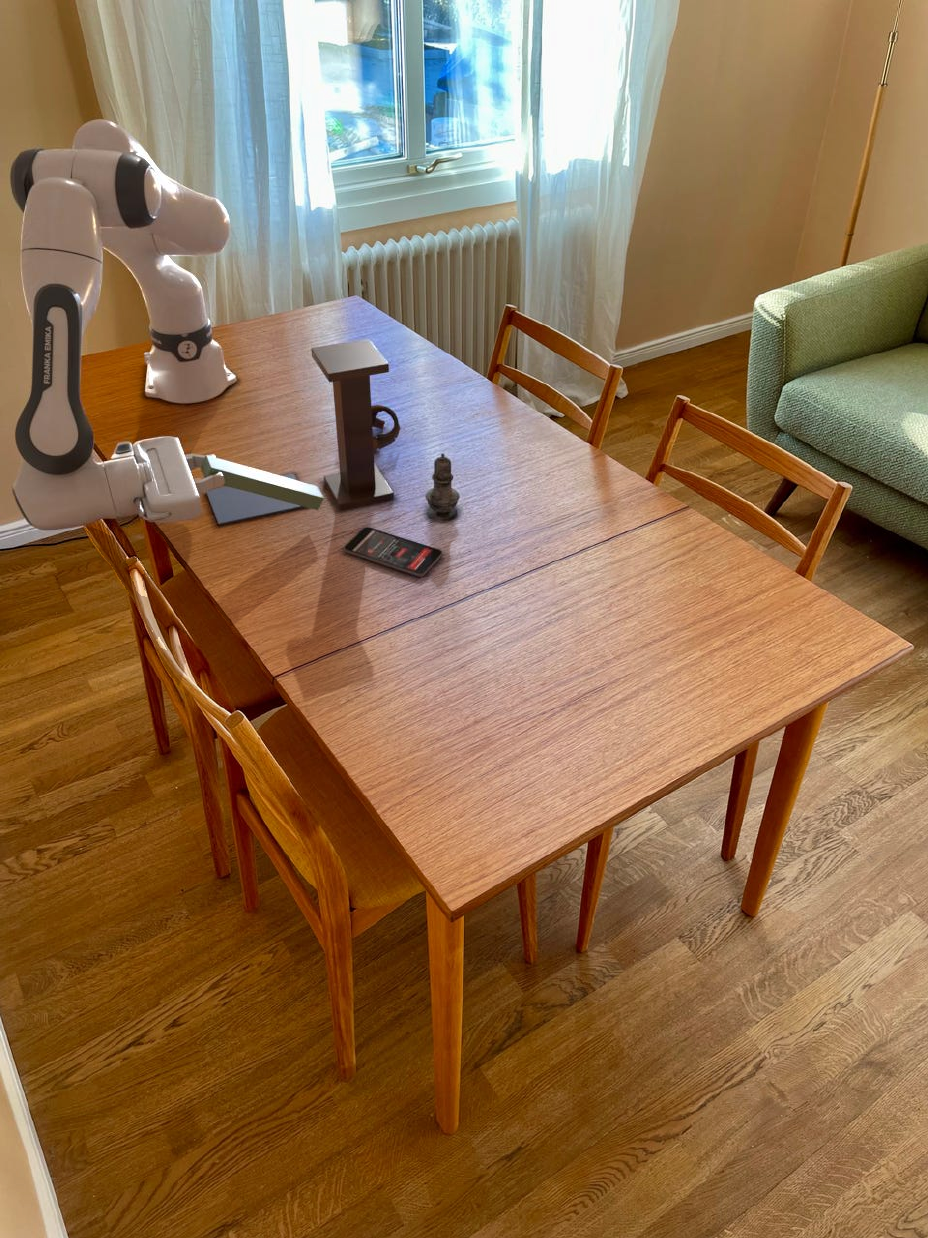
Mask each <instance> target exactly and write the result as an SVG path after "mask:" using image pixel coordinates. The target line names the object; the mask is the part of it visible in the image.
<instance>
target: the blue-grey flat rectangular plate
mask: <svg viewBox="0 0 928 1238" xmlns="http://www.w3.org/2000/svg"><path fill="white" fill-rule="evenodd" d="M280 476H283V477H286V478H290V479H293V480H297V478H296V476H295V474H294V472H293V473H286V474H282V475H280ZM205 494H206V496H207V499H208V502H209V504H210V507H211V509H212V512H213V515H214V517H215V520H216V522H217V524H218V525H217V526H223V525H228V524H233V523H238V522H242V521H243V522H244V521H247V520H251V519H256V518H261V517H266V516H270V515H275V514H281V513H284V512H288V511H294V510H298V509H304V508H305V507H303V506H300V505H296V504H292V503H288V502H284V501H281V500H277V499H273V498H269V497H266V496H262V495H258V494H254V493H250V492H247V491H243V490H239V489H235V488H232V487H228V486H223V487H218V488H212V489H211V490H209V491H208V492H206V493H205Z"/></svg>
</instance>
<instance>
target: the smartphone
mask: <svg viewBox="0 0 928 1238" xmlns="http://www.w3.org/2000/svg"><path fill="white" fill-rule="evenodd" d="M343 550H344V552H345V553H347V554H350V555H353V556H355V557H359V558H362V559H365V560H368V561H371V562H374V563H377V564H379V565H384V566H386V567H389V568H392V569H395V570H398V571H400V572H401V571H402V572H405V573H407V574H410V575H413V576H416V577H419V578H420V577H424V576H425V575H426V574H427V573H428V572H429V571H430V570H431V569H432V568H433V566H434V565H435V564H436V563H437V562H438V561H439V559H441V557H442V556H443V551H442V550H441V549H439V548H435V547H432V546H430V545H426V544H423V543H420V542H417V541H414V540H411V539H408V538H404V537H402V536H398V535H395V534H392V533H389V532H386V531H383V530H379V529H377V528H373V527H370V526H365V527H363V528H362V529H361V530H359V532H358V533H357V534H356V535H354V537H353V538H352V539H351V540H350V541H349V542H348V543H347V544H345V546H344V548H343Z"/></svg>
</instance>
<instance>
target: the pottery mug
mask: <svg viewBox="0 0 928 1238" xmlns="http://www.w3.org/2000/svg"><path fill="white" fill-rule="evenodd" d="M371 408H372V427H373V428H376V429H380V430H383V429H384V427H385V424H386V421H385V420H383V419H381V418H379V417H377V416H378V415H379V413H382V412H384V413H386V414H388V415H389V416H390V417H391V418H392V420H393V428H392V429H391V430H389V431H387V432H386V433H376V436H373V446H374V453H376V452H377V450H382V449H383V448H386V447H388V446H389V445H391V444H393V443H394V442H395V441H396V439H397V438H398V437H399V434H400V431H401V429H402V428H401V425H400V422H399V418H398V416H397V413H395V411H394V410H393V409H391V408H389V407H388V406H385V405H381V404H374V405H371Z"/></svg>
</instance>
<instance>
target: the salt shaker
mask: <svg viewBox="0 0 928 1238" xmlns="http://www.w3.org/2000/svg"><path fill="white" fill-rule="evenodd" d="M433 470H434V471H433V472H434V473H433V474H432V476H431V479H432V481H433V488H430V489H429V490H428V491H427V492H426V493H425V499H426V501H427V504H428V506H429V509H428V510H427V516H428V518H430V519H431V520H433V521H434V522H441V523H444V522H445V523H446V522H451V521H453V520H454V519H456V518H457V517H458V515H459V512H458V510H457V508H456V507H457V504H458V502H459V500H460V496H461V495H460V493H459V492H458V491H457V490H456V489H455V488H453V487H452V481H453V480H454V475H453V474H452V461H451V459H450V458H448V457H447V456H446V455H445V454H444V452H442V453H441V454H440V456H438V457H436V458H435V459H434V462H433Z"/></svg>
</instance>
